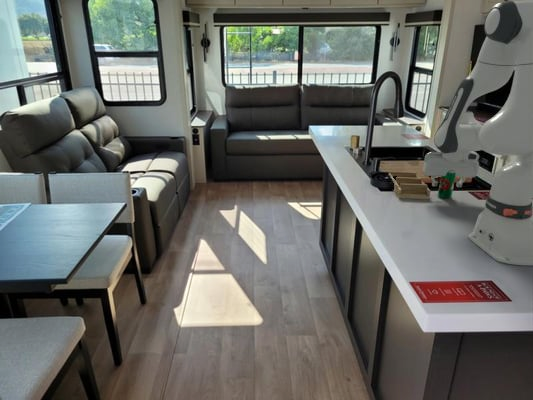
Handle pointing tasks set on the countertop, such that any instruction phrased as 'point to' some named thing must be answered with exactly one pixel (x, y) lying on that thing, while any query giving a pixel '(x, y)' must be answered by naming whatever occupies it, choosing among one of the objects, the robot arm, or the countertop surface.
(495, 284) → the countertop surface
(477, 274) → the countertop surface
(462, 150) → the robot arm
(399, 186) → the rack
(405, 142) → the countertop surface
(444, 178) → the soda can
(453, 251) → the countertop surface
